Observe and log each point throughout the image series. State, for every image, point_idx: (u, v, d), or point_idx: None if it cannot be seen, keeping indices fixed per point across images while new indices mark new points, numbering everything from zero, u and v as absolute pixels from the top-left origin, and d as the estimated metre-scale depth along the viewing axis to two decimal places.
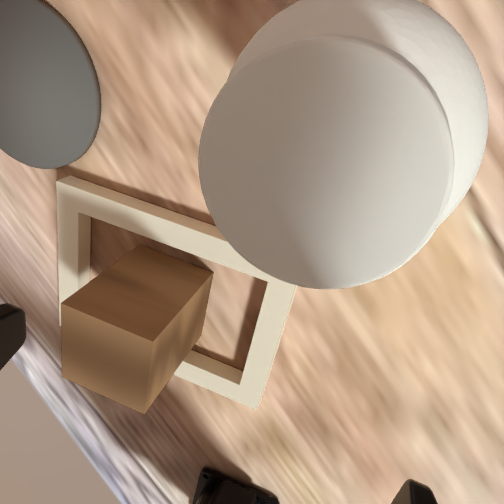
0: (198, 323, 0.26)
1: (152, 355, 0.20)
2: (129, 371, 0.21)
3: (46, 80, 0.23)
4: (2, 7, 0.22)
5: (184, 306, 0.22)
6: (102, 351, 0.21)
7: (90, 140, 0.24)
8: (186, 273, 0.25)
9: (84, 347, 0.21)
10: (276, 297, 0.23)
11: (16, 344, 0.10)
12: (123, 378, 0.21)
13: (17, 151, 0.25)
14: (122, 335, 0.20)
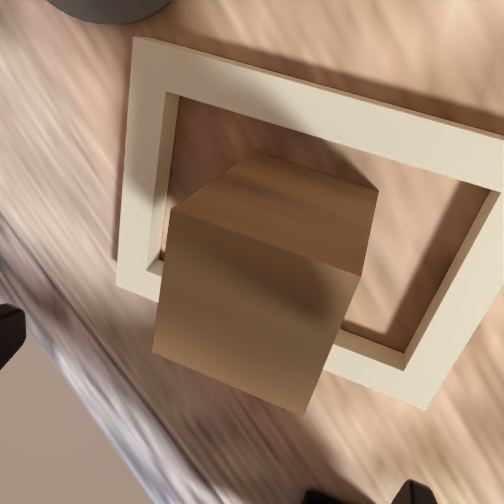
0: None
1: (348, 306, 0.10)
2: (291, 339, 0.11)
3: None
4: None
5: (369, 230, 0.13)
6: (241, 301, 0.11)
7: None
8: (342, 188, 0.15)
9: (204, 296, 0.12)
10: None
11: (16, 344, 0.10)
12: (275, 351, 0.12)
13: None
14: (292, 265, 0.10)
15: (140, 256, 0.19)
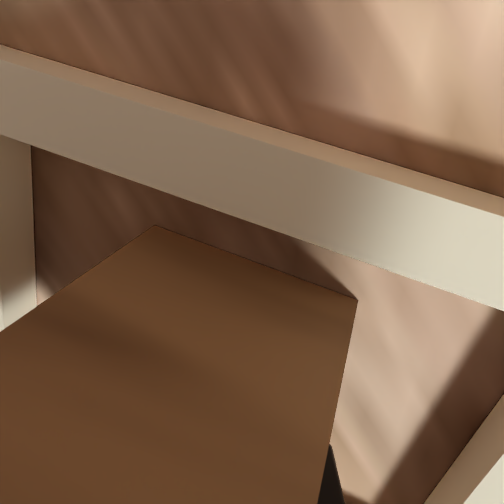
0: None
1: None
2: None
3: None
4: None
5: (328, 439, 0.06)
6: None
7: None
8: (291, 306, 0.08)
9: None
10: None
11: None
12: None
13: None
14: None
15: None
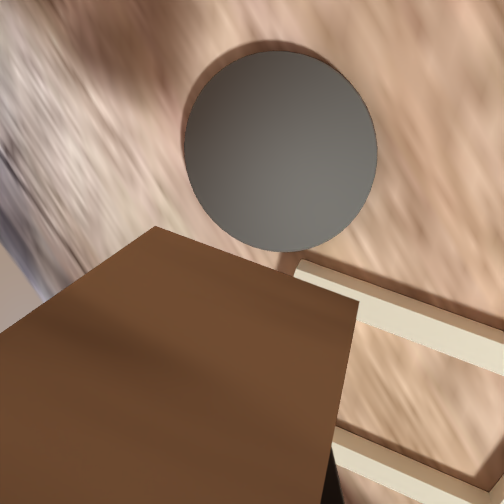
0: None
1: None
2: None
3: (310, 153, 0.19)
4: (271, 67, 0.18)
5: (330, 442, 0.06)
6: None
7: (349, 223, 0.19)
8: (293, 307, 0.08)
9: None
10: None
11: None
12: None
13: (241, 229, 0.21)
14: None
15: None
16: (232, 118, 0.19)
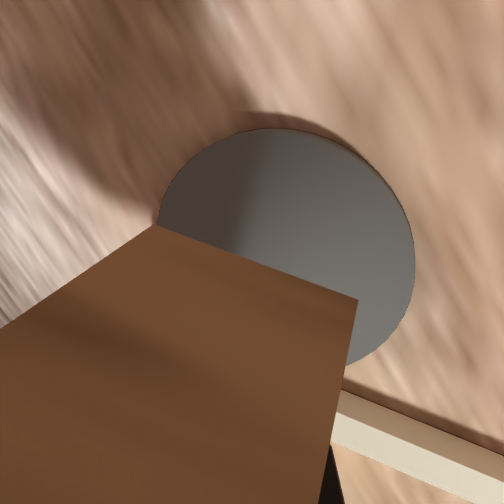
0: None
1: None
2: None
3: (323, 263, 0.14)
4: (270, 152, 0.13)
5: (328, 441, 0.06)
6: None
7: (374, 347, 0.15)
8: (291, 306, 0.08)
9: None
10: None
11: None
12: None
13: None
14: None
15: None
16: (218, 212, 0.14)
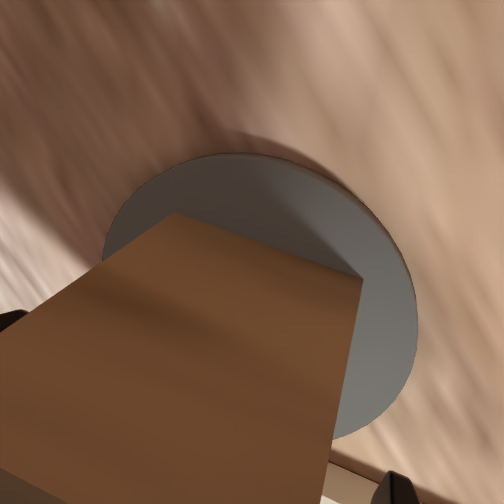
0: None
1: None
2: None
3: None
4: (233, 185, 0.10)
5: (339, 393, 0.07)
6: None
7: (366, 419, 0.12)
8: (303, 283, 0.09)
9: None
10: None
11: None
12: None
13: None
14: None
15: None
16: None
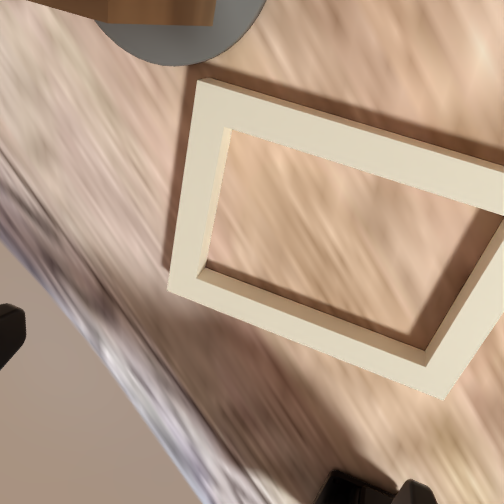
0: None
1: None
2: None
3: None
4: None
5: None
6: None
7: (254, 16, 0.16)
8: None
9: None
10: None
11: (16, 344, 0.10)
12: None
13: (137, 41, 0.18)
14: None
15: (191, 266, 0.22)
16: None
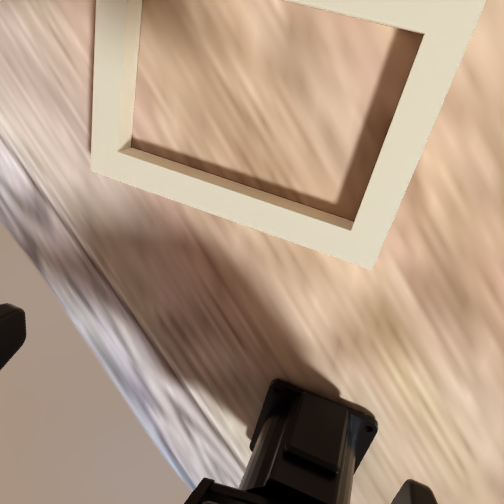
0: None
1: None
2: None
3: None
4: None
5: None
6: None
7: None
8: None
9: None
10: (434, 61, 0.15)
11: (16, 344, 0.10)
12: None
13: None
14: None
15: (112, 137, 0.21)
16: None
